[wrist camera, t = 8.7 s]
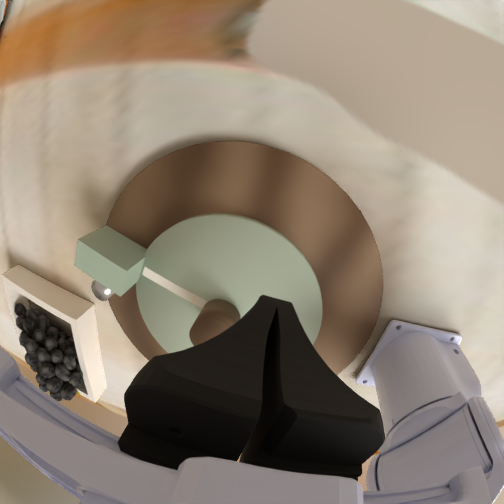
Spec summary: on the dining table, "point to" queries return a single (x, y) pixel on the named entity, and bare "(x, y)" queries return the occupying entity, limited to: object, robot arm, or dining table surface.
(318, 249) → the base board
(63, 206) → the dining table surface
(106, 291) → the dowel
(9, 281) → the fruit frame
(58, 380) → the fruit
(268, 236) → the flange plate
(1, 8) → the food on plate
